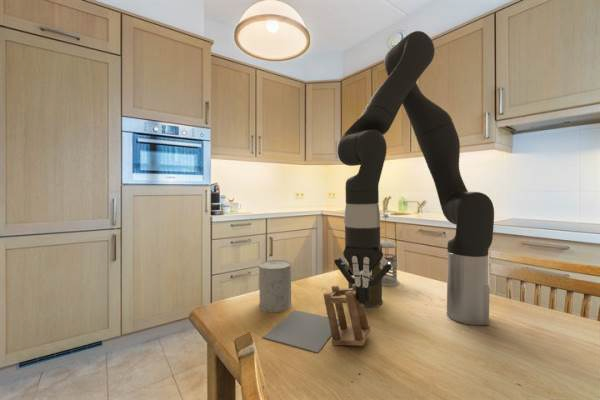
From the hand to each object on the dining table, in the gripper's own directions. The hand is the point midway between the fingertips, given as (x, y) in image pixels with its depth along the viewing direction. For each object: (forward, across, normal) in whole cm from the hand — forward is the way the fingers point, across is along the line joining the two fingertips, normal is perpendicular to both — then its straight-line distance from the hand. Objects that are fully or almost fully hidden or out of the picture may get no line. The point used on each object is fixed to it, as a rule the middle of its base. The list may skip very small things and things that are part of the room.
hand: (363, 302), depth 61 cm
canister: (+10, +6, -24) cm, 27 cm away
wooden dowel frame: (+9, +3, 0) cm, 9 cm away
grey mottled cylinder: (+9, +29, -9) cm, 31 cm away
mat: (+9, +15, 0) cm, 17 cm away
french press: (+10, +4, -44) cm, 45 cm away
